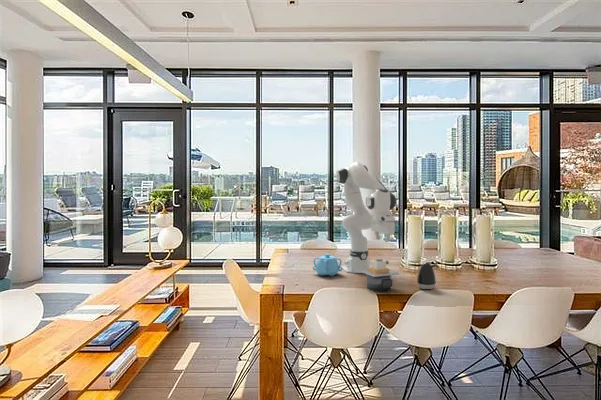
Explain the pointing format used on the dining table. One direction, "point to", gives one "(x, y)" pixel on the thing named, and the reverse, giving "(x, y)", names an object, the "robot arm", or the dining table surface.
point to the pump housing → (379, 264)
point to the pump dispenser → (426, 276)
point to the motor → (379, 280)
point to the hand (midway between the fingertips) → (382, 240)
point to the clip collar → (379, 270)
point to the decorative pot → (327, 265)
